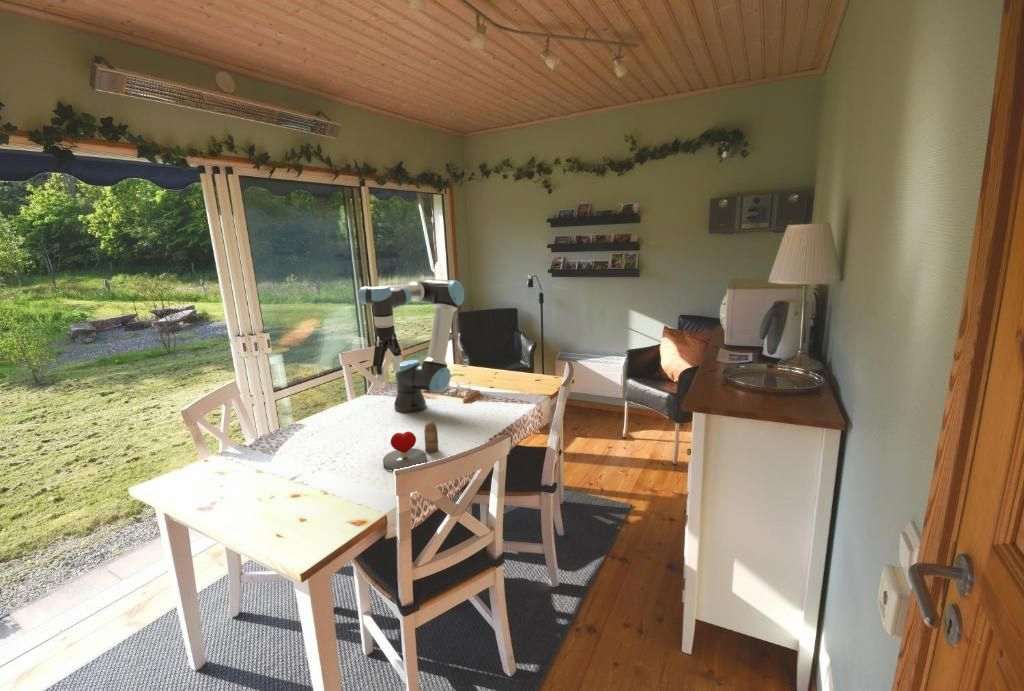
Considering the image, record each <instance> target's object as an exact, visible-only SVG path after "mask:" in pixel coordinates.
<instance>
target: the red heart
mask: <svg viewBox="0 0 1024 691" xmlns="http://www.w3.org/2000/svg"><path fill="white" fill-rule="evenodd" d="M416 442H417V438H416V435H415V434H414V433H413V432H412V431H405V432H403V433H402V432H396V433H394V434H393V435H392V436H391V439H390V446H391V447H392V448H393V449H394V450H398V451H400V452H401V457H403V458H406V457H407V456H408V450H410V449H411V448H413V447H414V446H415V445H416Z"/></svg>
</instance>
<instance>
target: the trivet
mask: <svg viewBox="0 0 1024 691" xmlns="http://www.w3.org/2000/svg"><path fill="white" fill-rule="evenodd" d="M424 462H427V453H426V451H424V450H421V449H419V448H415V447H414V448H413V447H412V448H411V449H410V450H408V456H407V457H406V458H403V457H401V452H400V451H398V450H396V449H394V450H392V451H389V452H388V453H386V454H385V456H384V457H383V458H382V465H384V466H383V467H384V469H386V468H387V469H388V471H389V470H392V471H391V472H393V470H394V469H400V468H404V467H409V466H412V465H416V464H421V463H424ZM387 469H386V470H387Z"/></svg>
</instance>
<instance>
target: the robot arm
mask: <svg viewBox="0 0 1024 691" xmlns="http://www.w3.org/2000/svg"><path fill="white" fill-rule="evenodd" d="M357 298H358V301H359V303H361V304H363V305H370V306H372V309H373V310H372V311H373V320H374V321H373V322H374V326H375V327H374V332H375V336H376V337H378V340H377V341H374V350H373V351H374V353H373V361H372V367H376V374H377V376H376V377H377V383H378V382H379V383H385V382H386V378H385V375H386V374H385V365H383V364H384V360H385V355H386V352H387V351H388V349H389V351H390V352H391V353H392V356H391V359H392V360H391V361H392V369H393V370H392V371H394V372H395V381H396V382H395V383H396V397H395V401H394V405H393V406H394V410H395V411H396V412H399V413H415V412H420V411H422V410H424V409H425V408H426V407H427V401H426V399H425V397H424V394H423V392H422V390H423V391H429V392H437V393H439V392H443V391H444V390H446V388H447V387H448V385H449V383H450V382H451V377H452V375H451V371H450V369H449V368H448V364H447V362H446V356H447V352H448V346H449V340H450V333H451V328H452V323H453V317H454V313H455V312H456V311H458V306H461V305H462V304H463V303H464V300H465V290H464V287H463V285H462V284H461V282H460V281H458V280H452V279H433V278H431V279H425V280H418V281H413V282H410V283H408V284H395V285H394V284H393V285H381V286H362V287H360V288H359V290H358V293H357ZM411 301H413V302H416V303H418V302H419V303H420V302H422V303H427V304H428V303H429V304H433V307H434V309H435V312H434V317H433V322H432V329H431V334H430V335H431V336H430V340H429V345H428V349H427V350H428V352H427V356H426V358H425V359H423V360H422V364H421V362H420V360H419V359H411V360H410V359H409V360H405V361H401V362H400V357H399V356H402V350H401V346H400V344H399V340H398V337H397V333H396V331H395V330H396V329H395V325H394V324H395V320H394V319H395V318H394V310H393V309H396V308H400V307H402V306H403V307H404V306H405V305H407V304H409V303H410V302H411Z"/></svg>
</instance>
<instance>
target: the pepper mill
mask: <svg viewBox="0 0 1024 691" xmlns="http://www.w3.org/2000/svg"><path fill="white" fill-rule="evenodd" d="M423 431H424V433H423V434H424V450H425V451H424V452H425V453H426V454H436V453H438V451H439V439H438V438H439V436H438V428H437V424H436V423H435V422H434V421H428V422H426V424H425V426H424V430H423Z"/></svg>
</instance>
